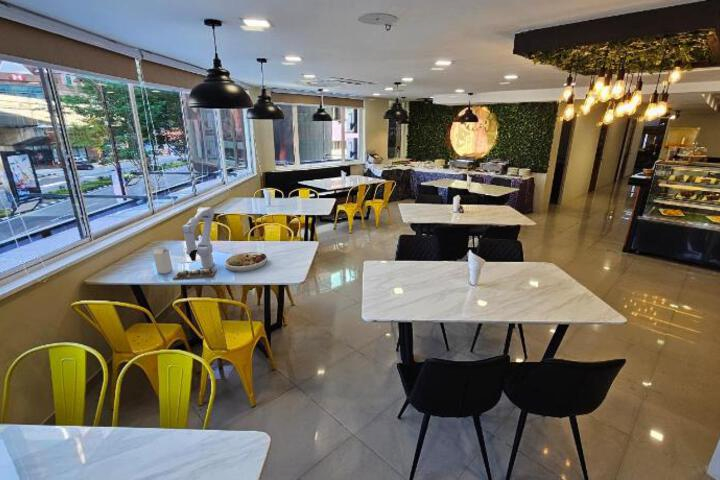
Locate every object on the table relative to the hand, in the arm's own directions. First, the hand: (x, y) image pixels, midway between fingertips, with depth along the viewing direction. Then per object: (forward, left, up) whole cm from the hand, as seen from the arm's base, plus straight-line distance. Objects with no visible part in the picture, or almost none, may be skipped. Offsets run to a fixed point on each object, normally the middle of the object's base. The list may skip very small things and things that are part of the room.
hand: (193, 260), depth 244 cm
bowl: (-12, +32, -11) cm, 36 cm away
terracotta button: (+3, +8, -9) cm, 12 cm away
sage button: (+3, -8, -9) cm, 12 cm away
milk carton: (-9, -25, -11) cm, 29 cm away
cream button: (+3, 0, -9) cm, 9 cm away
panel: (+2, 0, -10) cm, 10 cm away
